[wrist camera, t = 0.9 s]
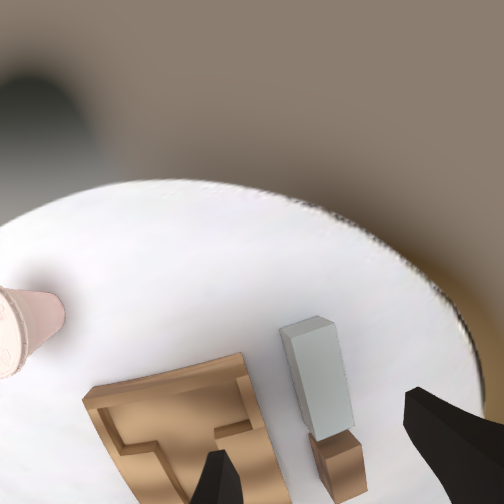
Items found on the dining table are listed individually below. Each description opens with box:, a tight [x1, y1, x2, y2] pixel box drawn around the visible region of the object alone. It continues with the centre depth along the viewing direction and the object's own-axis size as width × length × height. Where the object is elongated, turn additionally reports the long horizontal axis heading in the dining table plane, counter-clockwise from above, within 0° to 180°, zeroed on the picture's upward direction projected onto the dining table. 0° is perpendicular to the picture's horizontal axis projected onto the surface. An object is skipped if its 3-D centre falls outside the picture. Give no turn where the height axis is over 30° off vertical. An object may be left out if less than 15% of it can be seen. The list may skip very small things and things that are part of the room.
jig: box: [82, 352, 292, 504], centre depth 23 cm, size 18×14×3 cm
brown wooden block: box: [309, 429, 368, 504], centre depth 24 cm, size 7×3×5 cm, turn 16°
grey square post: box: [279, 316, 355, 441], centre depth 25 cm, size 4×10×4 cm, turn 16°
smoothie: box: [0, 286, 65, 379], centre depth 16 cm, size 6×6×14 cm
